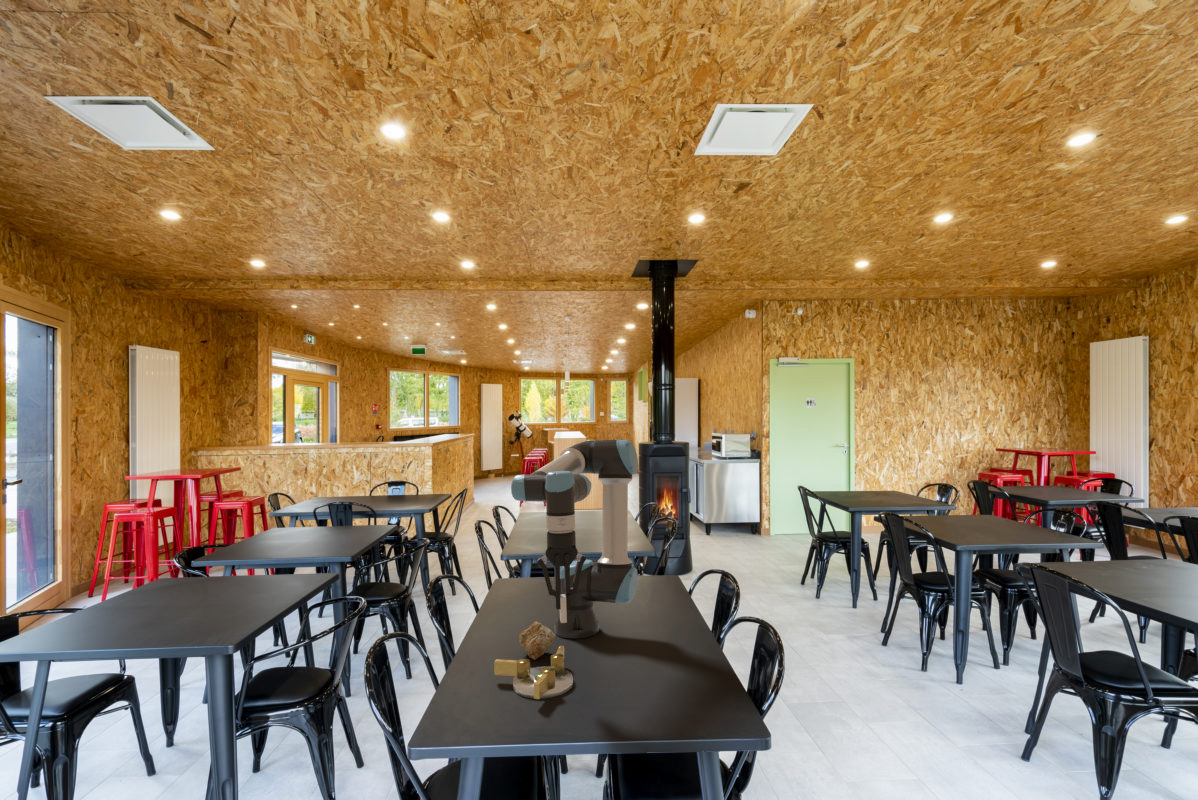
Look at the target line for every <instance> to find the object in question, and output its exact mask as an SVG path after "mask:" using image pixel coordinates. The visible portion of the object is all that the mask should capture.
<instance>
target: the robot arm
mask: <svg viewBox="0 0 1198 800" xmlns="http://www.w3.org/2000/svg"><path fill="white" fill-rule="evenodd" d="M638 460H639V459H638V454H637V450H636V448H635V445H634V443H633V441H631V440H627V439H598V440H597V439H596V440H595V439H593V440H591V439H590V440H584V441H582V442H579V443H576V444H574V445H572V446H569V447H567V448H566V449H563V451H562V452H561V453H560V454H559V456H558V457H557V458H555V459H553V460H552V461H550V462H548V463H547V464H545V465H544V466H542V467H541V468H539V469H537V470H535V471H534V472H532V473H530V474H517V475H515V476H514V477H513V478H512V481H511V486H510V489H511V490H510V492H511V495H512V497H513V499H514V500H515V501H518V502H525V503H526V502H539V503H541V502H543V503H544V502H545V506H546V507H545V508H546V509H545V510H546V513H545V514H546V530H547V532H546V550H545V554H544V555H542V556H541V557H538V558H537V563H538V565H539V566H540V568H541V569H542V573H543V577H544V581H545V583H546V584H545V585H546V589H547V591H548V592H547V593H548V595H549V596H553V597H554V599H555V603H554V605H555V609H556V610H558V611H557V615H556V620H555V622H554V624H553V625H554V627H553V628H554V630H553V633H554V634H555V635H556V636H558V637H560V638H564V639H574V640H575V639H584V638H585V639H586V638H589V637H593V636H594V635H597V634H598V633H599V632H600V625H599V621H598V620H597V616H596V615H597V614H596V611H595V608H594V603H608V604H616V605H619V604H620V605H621V604H622V605H628V604H630V603H631V602H632V601H633V599H634V597H635V594H636V591H637V587H638V578H639V577H638V576H639V575H638V569H637V568H636V567H634V566H633V561H632V560H631V558H629V556H628V538H629V537H628V529H629V528H628V522H629V521H628V520H629V518H628V516H629V515H628V514H629V513H628V511H629V509H628V507H629V505H628V504H629V503H628V500H629V497H628V496H629V494H628V493H629V490H628V489H629V487H628V485H629V483H630V482H632V481H633V475H635V474H637V472H638V468H639V464H638V463H639V462H638ZM584 474H592V475H593V474H594V475H598V477H597V478H598V481H600V483H602V509H601V510H602V516H601V517H602V519H601V521H602V523H601V526H602V529H601V531H602V532H601V537H602V538H601V556H600V558H599V559H598V560H597V565H594V562H593V560H591V559H587V557H586V556H585V554H583V553H580V552H579V551H578V549H577V546H576V545H577V544H576V539H577V538H576V531H575V529H576V519H575V518H576V512H575V503H577V502H582V501H583V500H584V499H587V498H588V496H589V495H590V493H591V492H592V491H591V490H592V484H591V481H590V480H589V478H588V477H587V476H586V475H584ZM548 560H549V562H550V563H551V564H552V565H553V568H554V570H553V571H554V588H553V586H552V581H551V578H550V575H549V571H548V568H547V564H548Z"/></svg>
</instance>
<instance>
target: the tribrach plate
mask: <svg viewBox="0 0 1198 800" xmlns="http://www.w3.org/2000/svg"><path fill="white" fill-rule="evenodd" d="M544 668H551V665H549V666H547V665H546V666H535V667H530V677H529V678H528V679H518V678H517V676H513V679H512V689H513V691H514V692H515V694H517V695H519V696H522V697H525V698H528V699H529V698H530V699H534V683H535V682H536V681H537V680H538V678H539V677H540V676H541V670H542V669H544ZM573 685H574V676H573V673H572V672H570V671H569V670H567V669H566V668H564V672H563V673H560V674H555V687H554V688H552V689H547V691H546V692H545V693H544V694H543V695H542V697H541V698H540V699H550V698H554V697H558V696H562V695H564V694H566V693H567V692H568V691H570V690H571V689H572V688H573Z"/></svg>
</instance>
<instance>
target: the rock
mask: <svg viewBox="0 0 1198 800" xmlns="http://www.w3.org/2000/svg"><path fill="white" fill-rule="evenodd" d="M556 637H557V635H556V634H555V632H554V630H553V631H552V629H550V628H549V627H547V626H546V625H543V624H542V623H541V622H538V621H534V622H533V623H532V624H531V625H529V627H528V628H527V629H524V630H522V632H521V633H520V634H519V636H518V639H519V642H518V643H519V645H520V646H521V648H523V649H524V651H525V653H526V654H527V656H528V657H529V658H531V660H534V661H536V660H537V659H538V658H540V657H541V656H543V655H544V654H545V652H546V651H548V649H549V648H550V647H551V646H553V645H554V643H553V642H554V641H555V639H556Z"/></svg>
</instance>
